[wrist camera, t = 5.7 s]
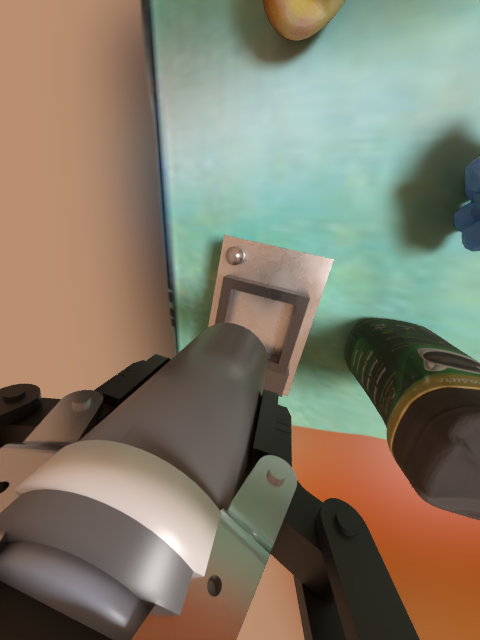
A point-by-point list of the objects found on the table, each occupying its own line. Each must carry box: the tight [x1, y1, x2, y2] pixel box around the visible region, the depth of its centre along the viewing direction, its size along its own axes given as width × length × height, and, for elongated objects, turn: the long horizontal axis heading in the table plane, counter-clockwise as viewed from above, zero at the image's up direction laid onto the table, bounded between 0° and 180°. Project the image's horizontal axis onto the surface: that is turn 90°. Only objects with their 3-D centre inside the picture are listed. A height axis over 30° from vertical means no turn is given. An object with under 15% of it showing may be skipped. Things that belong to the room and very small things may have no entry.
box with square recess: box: [208, 235, 334, 397], centre depth 26 cm, size 16×11×8 cm
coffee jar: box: [345, 319, 480, 520], centre depth 20 cm, size 10×8×19 cm
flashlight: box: [0, 323, 268, 640], centre depth 9 cm, size 5×5×11 cm
